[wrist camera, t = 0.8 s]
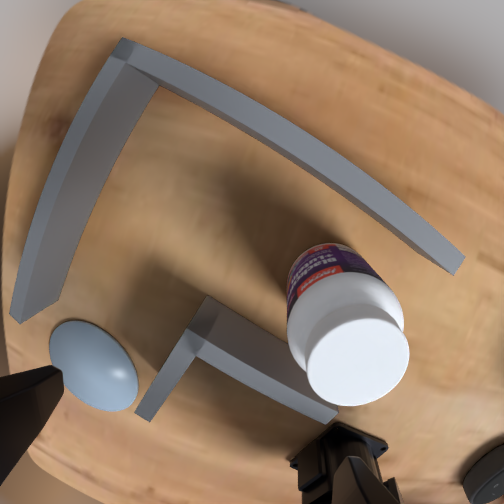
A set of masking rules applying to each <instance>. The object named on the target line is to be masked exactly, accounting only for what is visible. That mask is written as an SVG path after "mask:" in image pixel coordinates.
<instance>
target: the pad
mask: <svg viewBox="0 0 504 504" xmlns="http://www.w3.org/2000/svg"><path fill="white" fill-rule="evenodd" d="M49 350H50V357H51V361H52V364H53V366H55V367H57V368H59V369H61V370H62V372H63V382H64V385H65V386H66V387H67V388H68V390H69V391H70V392H71V393H73V394H74V395H75V396H76V397H77V398H79V399H80V400H81V401H83V402H84V403H86V404H88V405H90V406H92V407H94V408H97V409H100V410H104V411H120V410H123V409H125V408H127V407H129V406H130V405H131V404H132V403H133V401H134V400H135V398H136V396H137V394H138V389H139V381H138V375H137V372H136V369H135V366H134V364H133V362H132V360H131V358H130V357H129V355H128V354H127V352H126V351H125V350H124V348H123V347H122V346H121V345H120V344H119V343H118V342H117V341H116V340H115V339H114V338H113V337H112V336H111V335H110V334H108V333H107V332H106V331H104V330H102V329H101V328H99V327H97V326H95V325H93V324H91V323H88V322H84V321H77V320H76V321H68V322H65V323H63V324H61V325H60V326H58V327H57V328H56V329H55V330H54V332H53V334H52V336H51V339H50V344H49Z"/></svg>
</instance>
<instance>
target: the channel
mask: <svg viewBox="0 0 504 504" xmlns="http://www.w3.org/2000/svg"><path fill="white" fill-rule="evenodd" d="M159 85H160V86H162V87H164V88H166V89H168V90H170V91H172V92H174V93H176V94H177V95H179V96H181V97H183V98H185V99H187V100H189V101H191V102H193V103H194V104H196V105H198V106H200V107H202V108H203V109H205V110H207V111H209V112H211V113H212V114H214V115H216V116H218V117H220V118H221V119H223V120H225V121H227V122H228V123H230V124H232V125H233V126H235V127H237V128H239V129H240V130H242V131H244V132H245V133H247V134H249V135H250V136H252V137H254V138H255V139H257V140H259V141H260V142H262V143H263V144H265V145H267V146H268V147H270V148H271V149H273V150H275V151H276V152H278V153H279V154H281V155H283V156H284V157H286V158H287V159H289V160H290V161H292V162H293V163H295V164H296V165H298V166H299V167H301V168H303V169H304V170H306V171H307V172H309V173H310V174H312V175H313V176H315V177H316V178H317V179H319V180H320V181H322V182H323V183H325V184H326V185H328V186H329V187H331V188H332V189H333V190H335V191H336V192H338V193H339V194H341V195H342V196H343V197H345V198H346V199H348V200H349V201H350V202H352V203H353V204H355V205H356V206H357V207H359V208H360V209H361V210H363V211H364V212H366V213H367V214H368V215H370V216H371V217H372V218H374V219H375V220H376V221H378V222H379V223H380V224H382V225H383V226H384V227H385V228H387V229H388V230H389V231H391V232H392V233H393V234H395V235H396V236H397V237H398V238H400V239H401V240H402V241H403V242H405V243H406V244H407V245H408V246H410V247H411V248H412V249H413V250H415V251H416V252H417V253H418V254H420V255H422V256H423V257H425V258H426V259H428V260H430V261H431V262H433V263H434V264H436V265H438V266H439V267H441V268H442V269H444V270H445V271H447V272H449V273H450V274H452V275H453V276H454V274H455V273H456V271H457V270H458V268H459V267H460V265H461V263H462V262H463V260H464V259H465V256H464V255H463V254H462V253H461V252H460V251H459V250H458V249H457V248H456V247H455V246H454V245H452V244H451V243H450V242H449V241H448V240H447V239H446V238H445V237H444V236H443V235H441V234H440V233H439V232H438V231H437V230H436V229H435V228H433V227H432V226H431V225H430V224H429V223H428V222H427V221H425V220H424V219H423V218H422V217H421V216H419V215H418V214H417V213H416V212H415V211H413V210H412V209H411V208H410V207H409V206H407V205H406V204H405V203H404V202H402V201H401V200H400V199H399V198H397V197H396V196H395V195H394V194H392V193H391V192H390V191H389V190H387V189H386V188H385V187H383V186H382V185H381V184H380V183H378V182H377V181H376V180H374V179H373V178H372V177H370V176H369V175H368V174H366V173H365V172H364V171H362V170H361V169H359V168H358V167H357V166H355V165H354V164H353V163H351V162H350V161H348V160H347V159H346V158H344V157H343V156H341V155H340V154H338V153H337V152H335V151H334V150H333V149H331V148H330V147H328V146H327V145H325V144H324V143H322V142H321V141H319V140H318V139H316V138H315V137H313V136H312V135H310V134H309V133H307V132H305V131H304V130H302V129H301V128H299V127H298V126H296V125H294V124H293V123H291V122H290V121H288V120H286V119H285V118H283V117H282V116H280V115H278V114H277V113H275V112H273V111H272V110H270V109H268V108H266V107H265V106H263V105H261V104H260V103H258V102H256V101H254V100H253V99H251V98H249V97H247V96H246V95H244V94H242V93H240V92H238V91H236V90H235V89H233V88H231V87H229V86H227V85H225V84H223V83H222V82H220V81H218V80H216V79H214V78H212V77H210V76H208V75H206V74H204V73H202V72H200V71H198V70H196V69H194V68H192V67H190V66H188V65H186V64H184V63H181V62H179V61H177V60H175V59H173V58H171V57H168V56H166V55H164V54H162V53H159V52H157V51H155V50H153V49H150V48H148V47H146V46H143V45H141V44H138V43H136V42H133V41H131V40H128V39H126V38H123V37H122V38H121V40H120V41H119V43H118V44H117V46H116V47H115V49H114V50H113V52H112V53H111V55H110V56H109V58H108V60H107V61H106V63H105V64H104V66H103V68H102V69H101V71H100V73H99V74H98V76H97V78H96V79H95V81H94V83H93V84H92V86H91V88H90V90H89V91H88V93H87V95H86V97H85V99H84V101H83V102H82V104H81V106H80V108H79V110H78V112H77V114H76V116H75V118H74V120H73V122H72V124H71V126H70V128H69V130H68V132H67V134H66V136H65V138H64V141H63V143H62V145H61V147H60V149H59V152H58V154H57V156H56V159H55V161H54V163H53V166H52V168H51V171H50V173H49V176H48V178H47V181H46V183H45V186H44V188H43V191H42V194H41V197H40V199H39V202H38V205H37V208H36V211H35V214H34V217H33V220H32V223H31V226H30V229H29V233H28V236H27V240H26V243H25V247H24V250H23V254H22V258H21V261H20V265H19V270H18V274H17V278H16V282H15V287H14V292H13V297H12V302H11V307H10V313H9V314H10V315H11V316H12V317H13V318H14V319H15V320H16V321H17V322H18V323H19V324H21V323H23V322H24V321H26V320H27V319H29V318H31V317H32V316H34V315H35V314H37V313H38V312H40V311H42V310H43V309H45V308H46V307H48V306H50V305H51V304H53V303H54V302H56V301H58V299H59V296H60V293H61V290H62V287H63V284H64V281H65V278H66V275H67V272H68V270H69V267H70V264H71V261H72V259H73V256H74V253H75V251H76V248H77V246H78V243H79V241H80V238H81V236H82V233H83V231H84V228H85V226H86V223H87V221H88V219H89V216H90V214H91V212H92V210H93V207H94V205H95V203H96V201H97V198H98V196H99V194H100V192H101V190H102V188H103V186H104V184H105V181H106V179H107V177H108V175H109V173H110V171H111V169H112V167H113V165H114V163H115V161H116V159H117V157H118V156H119V154H120V152H121V150H122V148H123V146H124V144H125V142H126V141H127V139H128V137H129V135H130V133H131V132H132V130H133V128H134V126H135V124H136V123H137V121H138V119H139V118H140V116H141V114H142V112H143V111H144V109H145V107H146V106H147V104H148V102H149V101H150V99H151V98H152V96H153V94H154V93H155V91H156V90H157V88H158V86H159ZM196 356H197V357H199V358H200V359H202V360H204V361H205V362H207V363H209V364H210V365H212V366H214V367H215V368H217V369H219V370H220V371H222V372H224V373H226V374H227V375H229V376H231V377H233V378H234V379H236V380H238V381H240V382H242V383H243V384H245V385H247V386H249V387H251V388H253V389H254V390H256V391H258V392H260V393H262V394H264V395H266V396H268V397H270V398H272V399H273V400H275V401H277V402H279V403H281V404H283V405H285V406H287V407H289V408H291V409H293V410H295V411H297V412H299V413H302V414H304V415H306V416H308V417H310V418H312V419H314V420H316V421H319V422H321V423H323V424H325V425H326V424H327V423H328V422H329V421H330V420H332V419H333V418H334V417H335V416H336V415H337V414H338V413H339V411H338V406H337V405H336V404H333V403H330V402H328V401H326V400H324V399H323V398H321V397H320V396H319V395H318V394H317V393H316V392H315V391H314V390H313V389H312V387H311V385H310V383H309V381H308V377H307V372H306V371H304V370H303V369H302V368H301V367H300V366H299V365H298V363H297V362H296V360H295V359H294V357H293V355H292V353H291V351H290V348H289V344H287V343H285V342H284V341H282V340H280V339H278V338H277V337H275V336H273V335H272V334H270V333H268V332H267V331H265V330H263V329H262V328H260V327H258V326H257V325H255V324H253V323H252V322H250V321H249V320H247V319H245V318H244V317H242V316H240V315H239V314H237V313H236V312H234V311H232V310H231V309H229V308H228V307H226V306H224V305H223V304H221V303H220V302H218V301H216V300H215V299H213V298H212V297H210V296H209V295H207V296H206V298H205V300H204V301H203V303H202V304H201V306H200V307H199V309H198V311H197V312H196V314H195V315H194V317H193V318H192V320H191V322H190V323H189V325H188V326H187V328H186V330H185V331H184V333H183V334H182V336H181V337H180V339H179V341H178V342H177V344H176V345H175V347H174V349H173V350H172V352H171V353H170V355H169V357H168V358H167V360H166V361H165V363H164V365H163V366H162V368H161V369H160V371H159V373H158V374H157V376H156V377H155V379H154V381H153V382H152V384H151V386H150V387H149V389H148V391H147V392H146V394H145V396H144V397H143V399H142V400H141V402H140V404H139V405H138V407H137V409H136V410H135V412H134V413H135V414H137V415H139V416H140V417H142V418H144V419H145V420H147V421H149V422H150V421H151V420H152V419H153V417H154V416H155V414H156V413H157V411H158V410H159V409H160V407H161V406H162V404H163V403H164V401H165V400H166V398H167V397H168V396H169V394H170V393H171V391H172V390H173V388H174V387H175V386H176V384H177V383H178V381H179V380H180V378H181V377H182V375H183V374H184V373H185V371H186V370H187V368H188V367H189V365H190V364H191V362H192V361H193V359H194V358H195V357H196Z"/></svg>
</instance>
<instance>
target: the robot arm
mask: <svg viewBox="0 0 504 504" xmlns="http://www.w3.org/2000/svg"><path fill="white" fill-rule="evenodd" d="M63 393H64V382H63V372H62V370H61V369H59V368H57V367H55V366H53V365H48V366H44V367H40V368H36V369H32V370H28V371H24V372H20V373H16V374H12V375H7V376H3V377H0V486H1V484H2V483H3V481H4V480H5V479H6V477H7V476H8V475H9V473H10V472H11V470H12V469H13V468H14V466H15V465H16V463H17V462H18V461H19V459H20V458H21V457H22V455H23V454H24V453H25V451H26V450H27V449H28V447H29V446H30V445H31V443H32V442H33V441H34V440H35V438H36V437H37V436H38V434H39V433H40V432H41V430H42V429H43V427H44V426H45V424H46V422H47V421H48V419H49V417H50V416H51V414H52V412H53V411H54V409H55V407H56V406H57V404H58V402H59V401H60V399H61V397H62V395H63ZM336 428H338V429H336ZM388 448H389V447H388V444H387V443H386V442H383V441H381V440H378V439H376V438H373V437H371V436H369V435H366V434H364V433H362V432H359V431H357V430H355V429H352V428H350V427H348V426H346V425H343V424H341V423H334V424H333V425H331V426H330V427H329V428H328V429H327V430H326V431H325V432H324V433H323V434H321V435H320V436H319V437H318V438H317V439H315V440H314V441H313V442H312V443H311V444H309V445H308V446H307V447H306V448H305V449H304V450H302V451H301V452H300V453H299V454H298V455H297V456H296V457H295V458H293V459H292V460H291V461H290V467H291V468H293V469H296V470H298V489H299V491H302V504H405V503H404V500H403V498H402V495H401V493H400V490H399V488H398V485H397V483H396V480H395V478H394V477H393V478H391V479H388V481H386V482H383V481H382V477H381V473H380V469H379V465H378V462H377V458H378V457H380V456H381V455H382V454H383V453H384V452H386V451H387V450H388Z"/></svg>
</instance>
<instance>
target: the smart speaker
mask: <svg viewBox="0 0 504 504" xmlns="http://www.w3.org/2000/svg"><path fill="white" fill-rule="evenodd" d="M463 488H464V491H465V493H466V496H467V498H468V500H469V502H470V503H471V504H486V503H489V502H491V501H493V500H495V499H497V498H499V497H500V496H502V495H504V444H503V445H501V446H499V447H497V448H495V449H494V450H492V451H491V452H489V453H488V454H487V455H485V456H484V457H483V458H482V459H481V460H479V461H478V462H477V463H476V464H475V465H474V466H473V467H472V469H471V470H470V471H469V472H468V474H467V476H466V477H465V480H464V483H463Z"/></svg>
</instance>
